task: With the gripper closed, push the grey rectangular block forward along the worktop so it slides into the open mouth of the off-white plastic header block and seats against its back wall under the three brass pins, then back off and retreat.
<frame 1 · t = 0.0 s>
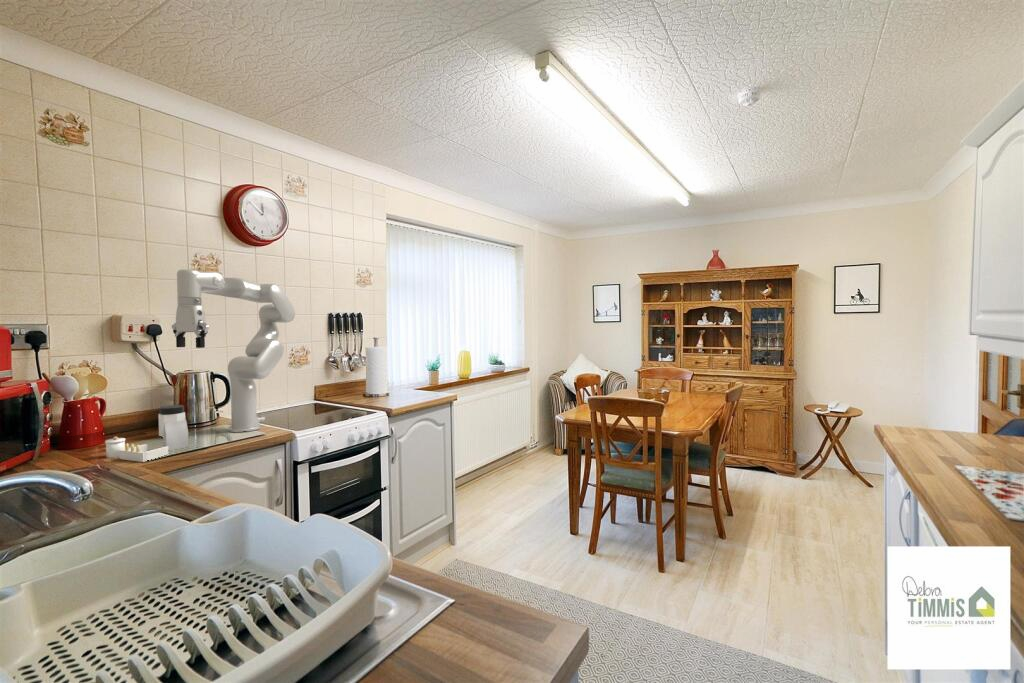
hand: (190, 347, 179), 37 cm above the countertop, tool pointing down, fingers open, 9 cm apart
header block: (145, 456, 162), on the countertop
sugar pot: (115, 455, 163), on the countertop
jar: (172, 436, 191), on the countertop
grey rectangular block: (176, 449, 172), on the countertop
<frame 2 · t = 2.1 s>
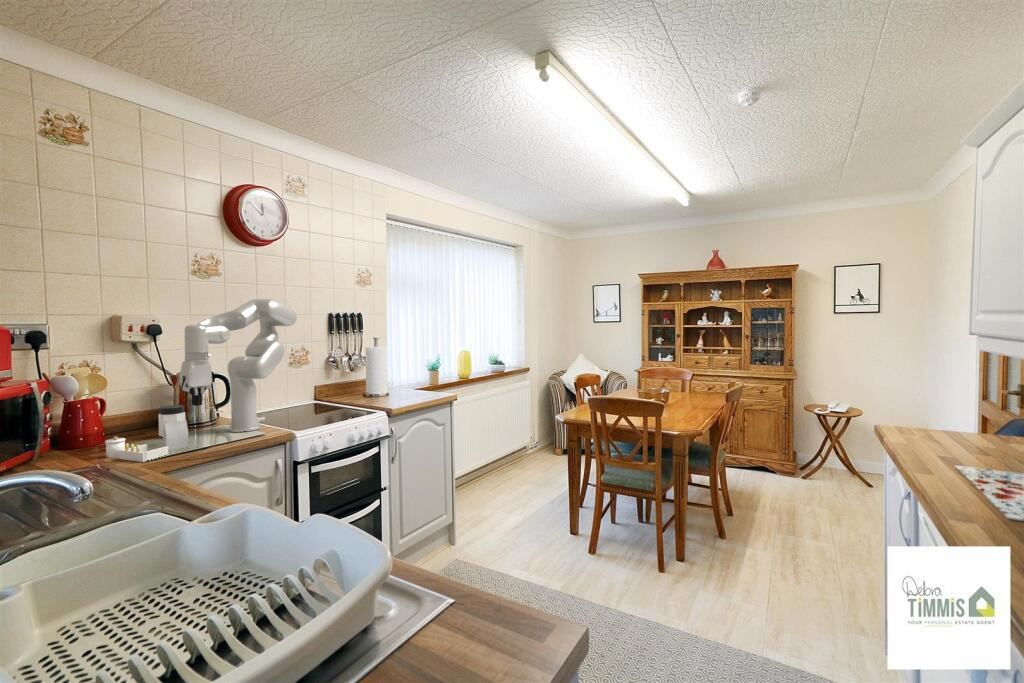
hand: (197, 405, 180), 15 cm above the countertop, tool pointing down, fingers closed
nothing on the countertop moved.
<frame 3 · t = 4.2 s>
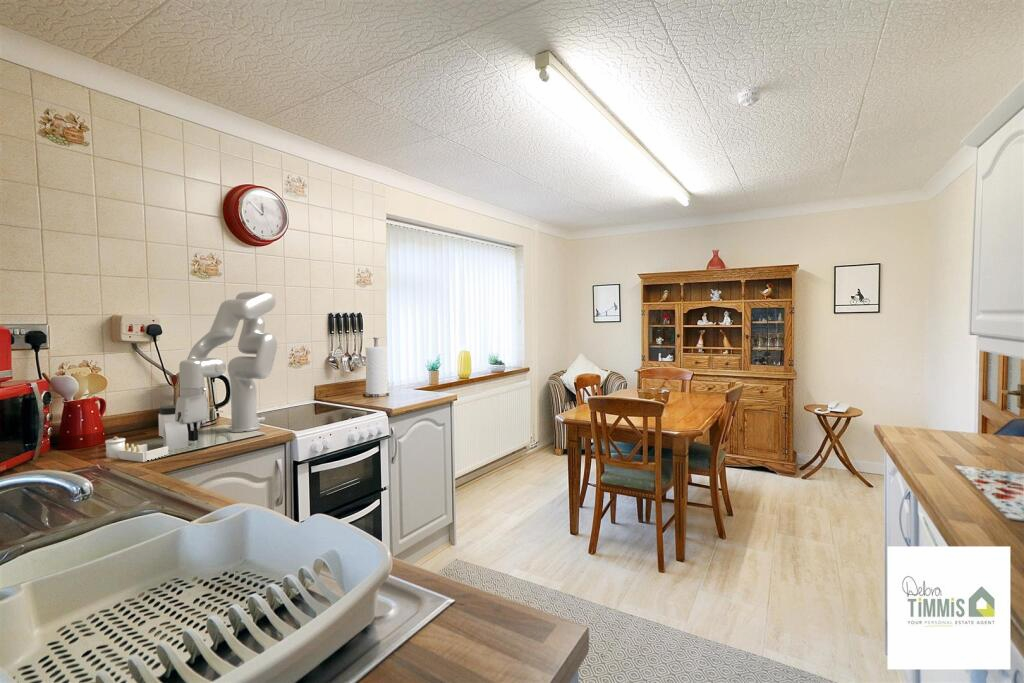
hand: (192, 440, 178), 1 cm above the countertop, tool pointing down, fingers closed
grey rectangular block: (176, 449, 172), on the countertop, touching gripper
everything else where it was.
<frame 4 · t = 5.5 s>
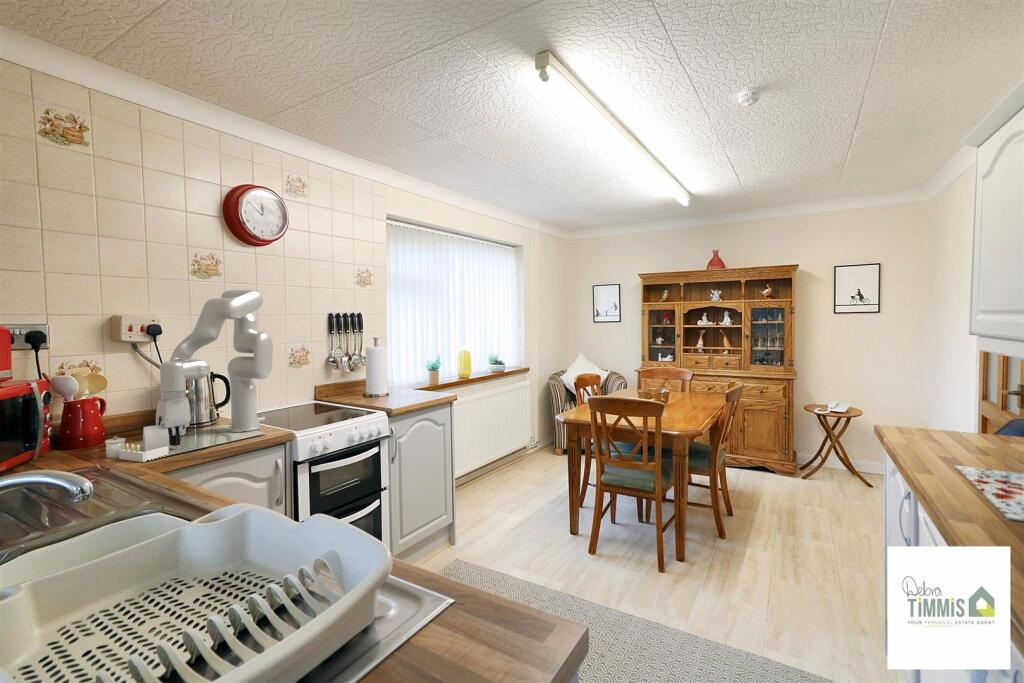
hand: (175, 445, 172), 1 cm above the countertop, tool pointing down, fingers closed
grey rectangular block: (156, 454, 165), on the countertop, touching gripper
everything else where it was.
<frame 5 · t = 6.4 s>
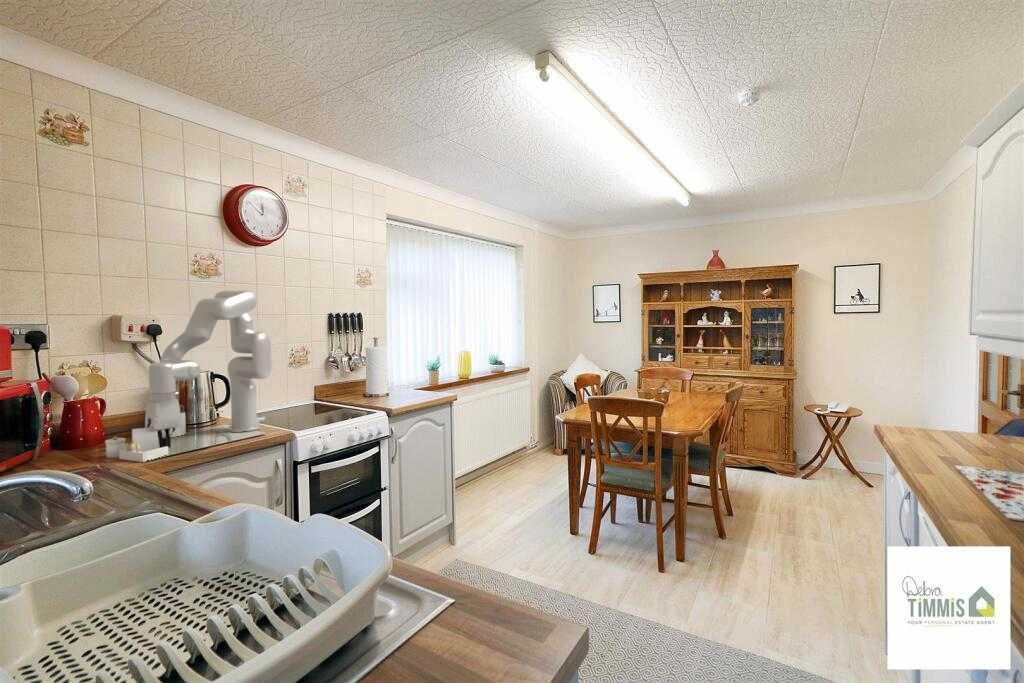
hand: (165, 447, 168), 1 cm above the countertop, tool pointing down, fingers closed
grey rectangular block: (145, 457, 162), on the countertop, touching gripper, header block
everything else where it was.
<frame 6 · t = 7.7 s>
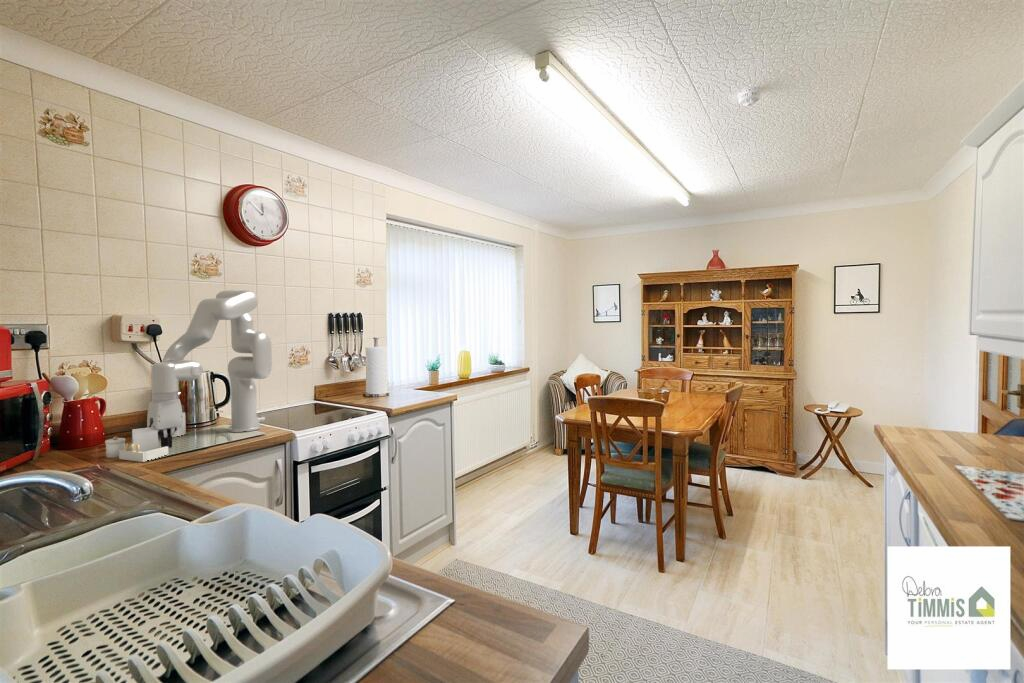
hand: (166, 447, 169), 1 cm above the countertop, tool pointing down, fingers closed
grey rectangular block: (145, 457, 162), on the countertop
everything else where it was.
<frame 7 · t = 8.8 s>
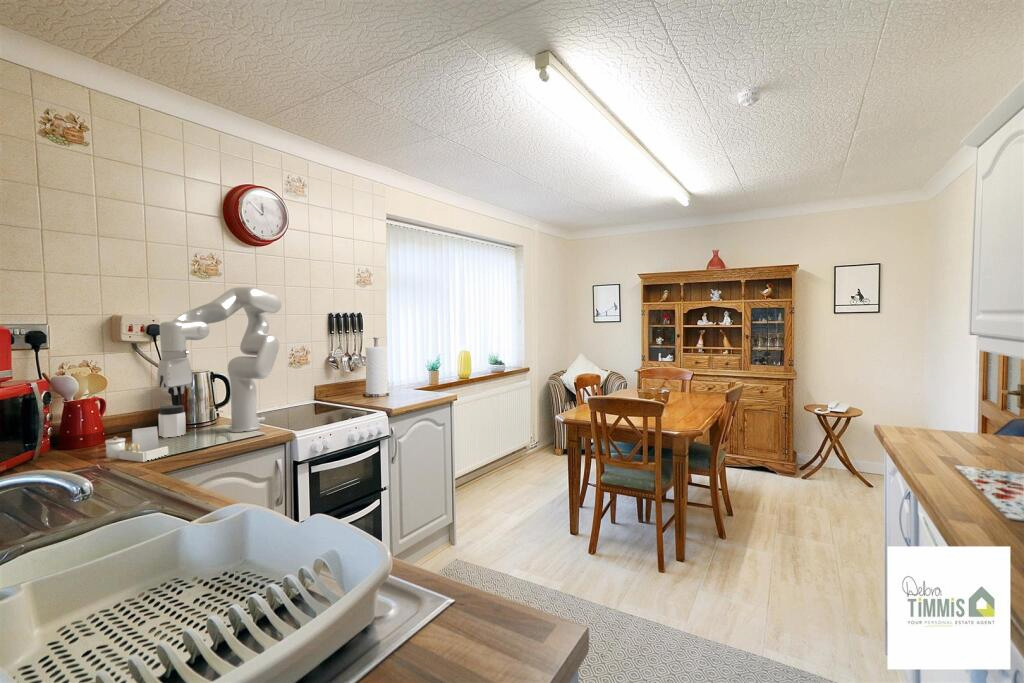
hand: (177, 404, 172), 16 cm above the countertop, tool pointing down, fingers closed
nothing on the countertop moved.
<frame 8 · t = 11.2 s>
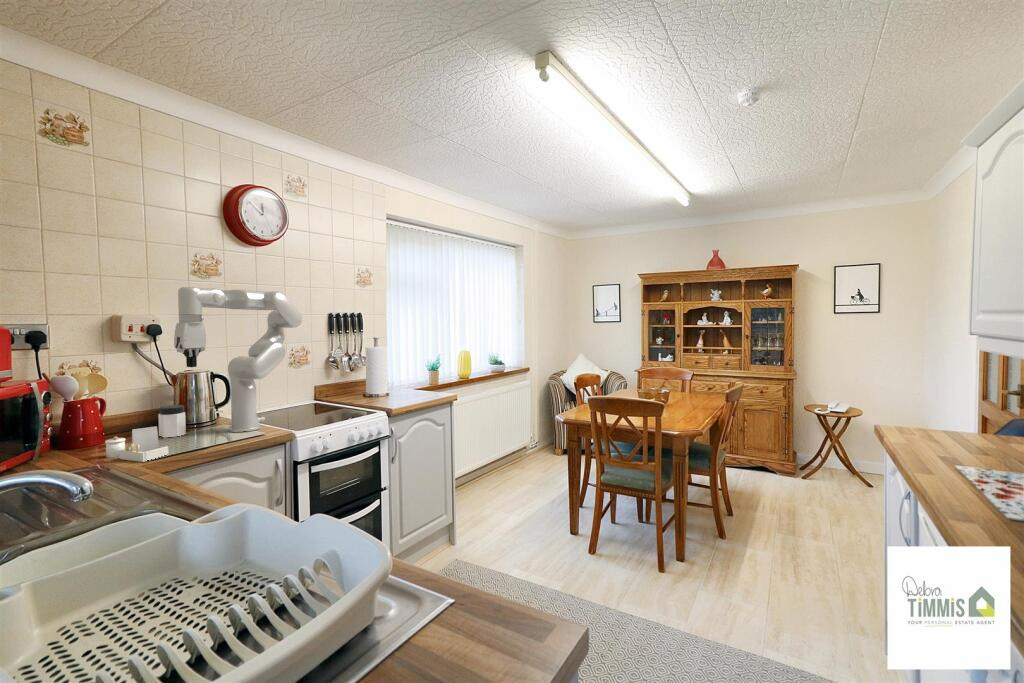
hand: (191, 366, 182), 29 cm above the countertop, tool pointing down, fingers closed
nothing on the countertop moved.
at the end: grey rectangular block inside the target area on the header block (0.3 cm from its centre), point 0.0 cm above the header block's base; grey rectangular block moved 10.6 cm from its start; the gripper is holding nothing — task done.
